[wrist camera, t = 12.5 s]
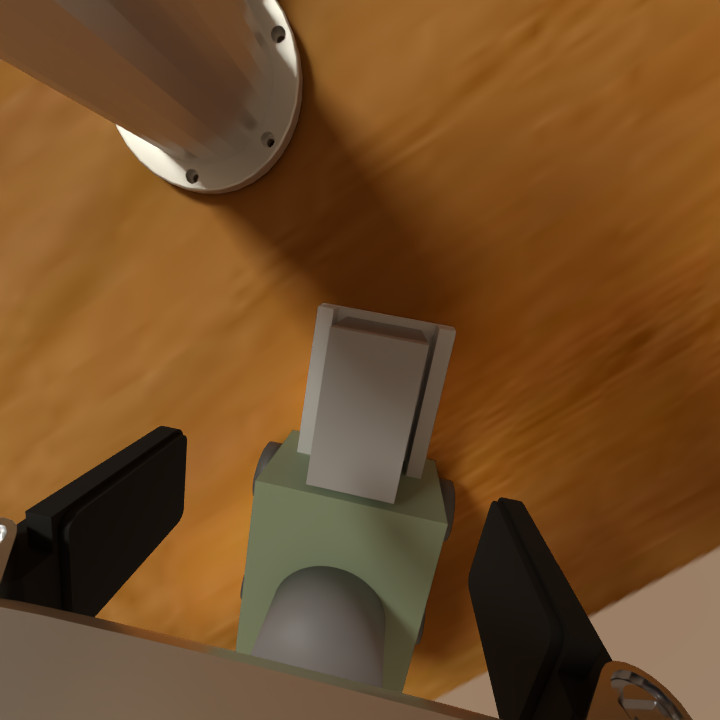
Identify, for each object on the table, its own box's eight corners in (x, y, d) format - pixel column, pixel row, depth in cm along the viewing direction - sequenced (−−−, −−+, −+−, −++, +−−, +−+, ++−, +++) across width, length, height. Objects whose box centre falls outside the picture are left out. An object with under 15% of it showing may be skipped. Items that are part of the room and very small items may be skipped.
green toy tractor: (294, 297, 24) (209, 306, 13) (485, 332, 23) (558, 373, 12) (259, 574, 30) (179, 737, 19) (412, 612, 29) (419, 807, 18)
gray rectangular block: (347, 316, 23) (330, 326, 17) (421, 330, 23) (429, 345, 17) (327, 437, 25) (305, 484, 19) (395, 452, 25) (393, 503, 19)
